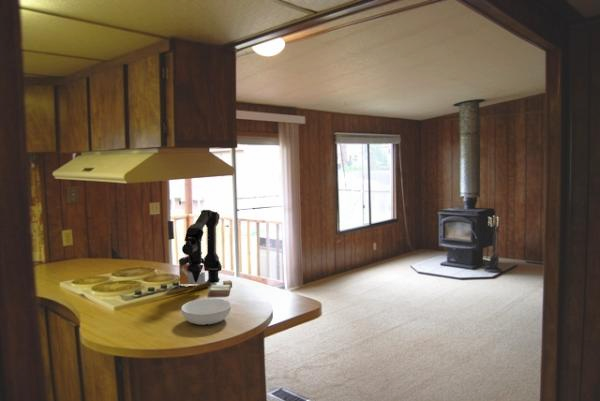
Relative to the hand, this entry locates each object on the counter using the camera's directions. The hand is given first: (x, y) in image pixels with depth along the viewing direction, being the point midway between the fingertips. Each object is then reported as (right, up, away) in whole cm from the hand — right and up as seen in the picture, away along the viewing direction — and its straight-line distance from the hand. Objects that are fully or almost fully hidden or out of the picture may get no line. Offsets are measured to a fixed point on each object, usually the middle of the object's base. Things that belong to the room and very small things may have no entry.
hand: (196, 280), depth 240 cm
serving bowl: (+14, -10, -41) cm, 45 cm away
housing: (0, -1, 0) cm, 1 cm away
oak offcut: (+14, -6, +13) cm, 20 cm away
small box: (-8, -6, +15) cm, 18 cm away
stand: (+12, -6, +1) cm, 14 cm away
